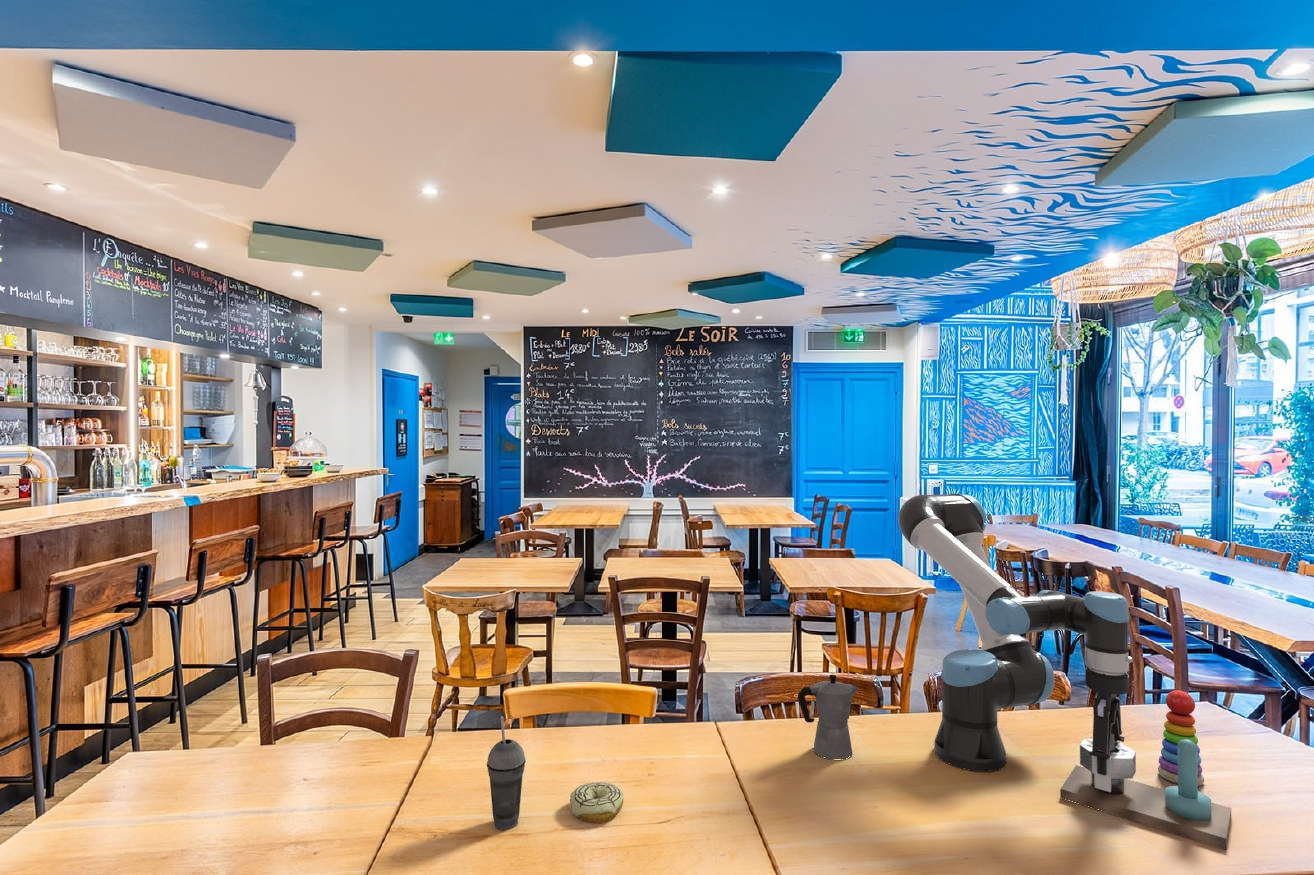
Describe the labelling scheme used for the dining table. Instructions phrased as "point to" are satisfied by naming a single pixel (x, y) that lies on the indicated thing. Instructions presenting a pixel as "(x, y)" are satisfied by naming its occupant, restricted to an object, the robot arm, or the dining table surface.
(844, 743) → the coffeepot
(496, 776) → the beverage cup
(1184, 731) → the stacking toy
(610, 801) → the decorated donut
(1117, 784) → the stand rod
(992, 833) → the dining table surface
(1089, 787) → the walnut board
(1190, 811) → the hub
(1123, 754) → the steel ring
